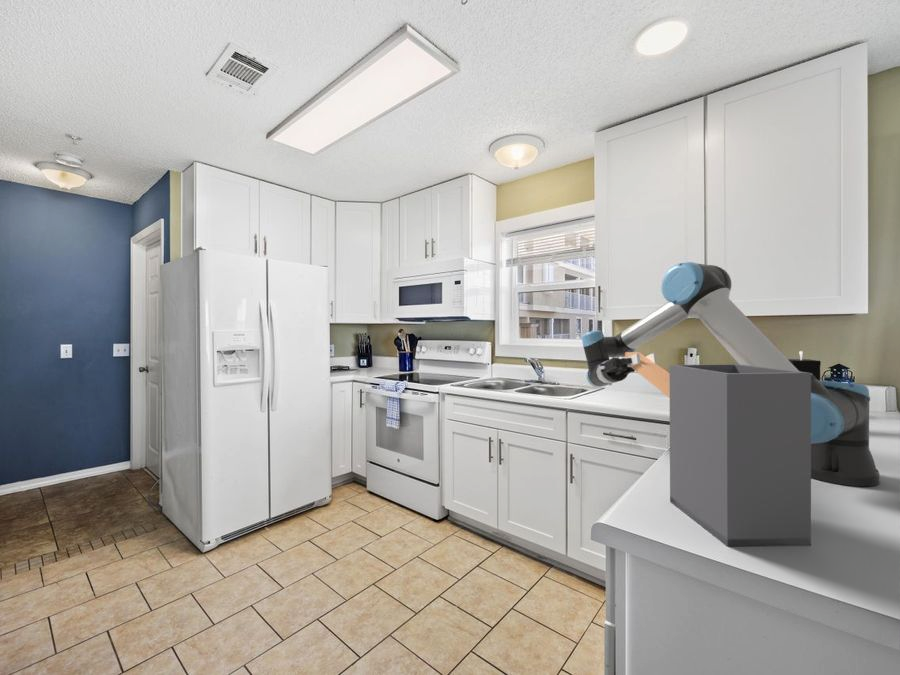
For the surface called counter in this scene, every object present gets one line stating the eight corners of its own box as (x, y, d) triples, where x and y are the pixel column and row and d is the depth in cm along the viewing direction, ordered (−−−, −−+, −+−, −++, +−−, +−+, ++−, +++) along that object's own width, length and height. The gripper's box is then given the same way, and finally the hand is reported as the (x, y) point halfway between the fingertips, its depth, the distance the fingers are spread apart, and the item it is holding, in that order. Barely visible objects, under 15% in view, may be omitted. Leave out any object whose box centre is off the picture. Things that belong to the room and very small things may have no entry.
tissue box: (809, 427, 148) (809, 350, 148) (820, 432, 141) (820, 351, 140) (782, 426, 151) (782, 350, 150) (792, 431, 143) (792, 351, 143)
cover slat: (624, 361, 122) (625, 352, 121) (637, 361, 122) (639, 352, 121) (676, 403, 95) (678, 391, 94) (693, 403, 95) (695, 391, 94)
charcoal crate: (736, 500, 87) (736, 364, 86) (810, 545, 69) (811, 372, 68) (670, 501, 87) (669, 365, 87) (727, 546, 69) (726, 374, 69)
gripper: (639, 382, 134) (679, 371, 112) (587, 382, 134) (617, 372, 111) (636, 359, 136) (675, 344, 113) (585, 360, 136) (614, 345, 113)
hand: (646, 358), depth 112 cm, fingers closed on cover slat, 4 cm apart
